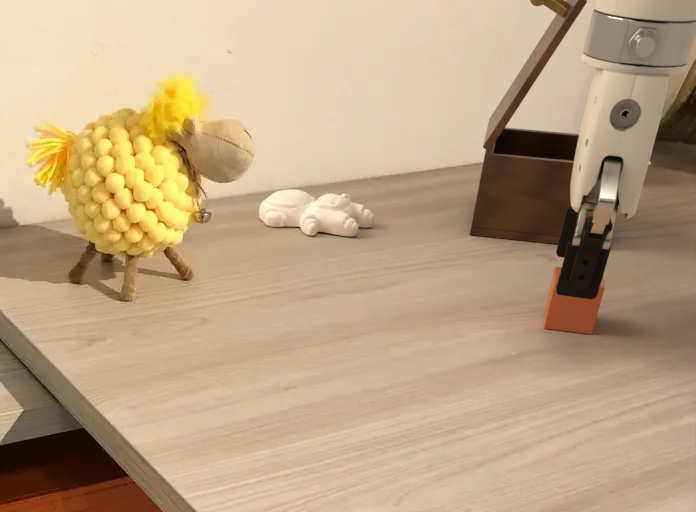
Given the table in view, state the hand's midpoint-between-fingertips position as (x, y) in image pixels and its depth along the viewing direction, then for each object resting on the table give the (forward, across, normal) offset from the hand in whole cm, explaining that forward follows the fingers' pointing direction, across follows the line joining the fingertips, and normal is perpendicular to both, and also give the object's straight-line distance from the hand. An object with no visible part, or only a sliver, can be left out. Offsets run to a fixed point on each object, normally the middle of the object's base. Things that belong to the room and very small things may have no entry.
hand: (574, 276), depth 87 cm
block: (+4, 0, 0) cm, 4 cm away
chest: (+4, +28, +2) cm, 28 cm away
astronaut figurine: (+5, +20, +26) cm, 33 cm away
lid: (-11, +28, +6) cm, 31 cm away
